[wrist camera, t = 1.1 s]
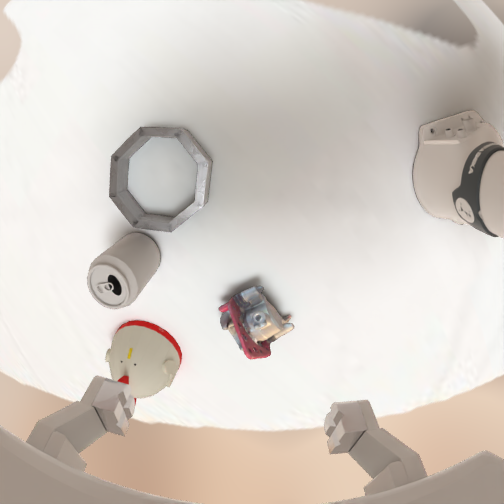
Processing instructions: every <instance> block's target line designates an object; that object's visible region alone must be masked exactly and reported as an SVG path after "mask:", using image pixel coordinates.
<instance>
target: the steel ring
mask: <svg viewBox="0 0 504 504" xmlns="http://www.w3.org/2000/svg"><path fill="white" fill-rule="evenodd" d="M151 137H169V138H177V139H178V140H179V141H180V143H181V144H182V145H183V146H184V148H185V149H186V150H187V151H188V153H189V154H190V155H191V156H192V158H193V159H194V160H195V162H196V163H197V164H198V173H197V182H196V192H195V201H194V202H193V203H192V204H191V205H189V206H188V207H187V208H186V209H185V210H183V211H182V212H181V213H180V214H179V215H177V216H176V217H171V216H163V215H155V214H146V213H145V212H144V210H143V209H142V208H141V207H140V205H139V204H138V203H137V202H136V200H135V199H134V198H133V196H132V195H131V194H130V193H129V191H128V190H127V185H128V169H129V158H130V157H131V156H132V155H133V154H134V153H135V152H136V151H137V150H138V149H140V148H141V147H142V146H143V145H144V144H145V143H146V142H147V141H148V140H149V139H150V138H151ZM212 162H213V161H212V160H211V159H210V157H209V156H208V155H207V154H206V152H205V151H204V150H203V149H202V147H201V146H200V145H199V144H198V142H197V141H196V140H195V139H194V137H193V136H192V135H191V134H190V132H189V131H188V130H185V129H182V128H160V127H140V128H139V129H138V130H137V131H136V132H135V133H134V134H132V135H131V136H130V137H129V138H128V139H127V140H126V141H125V142H124V143H123V144H122V145H121V147H120V148H119V149H118V150H117V151H116V152H115V153H114V154H113V155H112V156H111V169H110V189H109V197H110V198H111V199H112V201H113V202H114V203H115V205H116V206H117V207H118V209H119V210H120V211H121V212H122V214H123V215H124V216H125V218H126V219H127V220H128V221H129V223H130V224H131V225H132V226H133V227H135V228H142V229H150V230H157V231H165V232H172V231H173V230H175V229H176V228H177V227H178V226H180V225H181V224H182V223H183V222H184V221H186V220H187V219H188V218H189V217H191V216H192V215H193V214H194V213H196V212H197V211H198V210H199V209H201V208H202V207H203V206H204V205H205V204H206V203H207V202H208V195H209V186H210V178H211V170H212Z"/></svg>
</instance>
